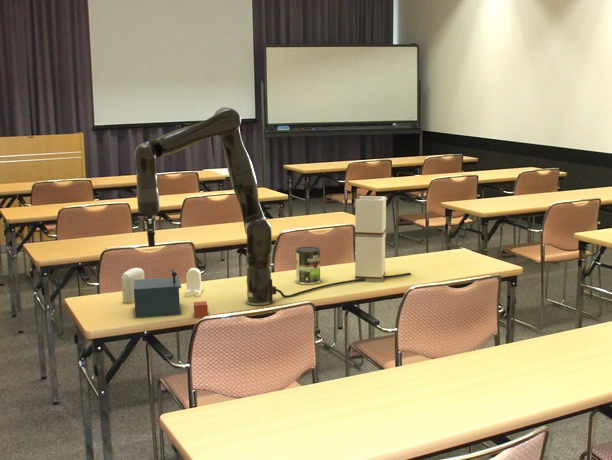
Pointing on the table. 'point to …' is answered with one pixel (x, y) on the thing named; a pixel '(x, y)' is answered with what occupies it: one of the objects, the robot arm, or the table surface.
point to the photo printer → (130, 283)
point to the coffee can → (308, 265)
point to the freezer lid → (158, 283)
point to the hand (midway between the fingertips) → (151, 243)
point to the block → (200, 309)
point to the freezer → (157, 302)
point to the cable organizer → (193, 282)
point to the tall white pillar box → (370, 238)
